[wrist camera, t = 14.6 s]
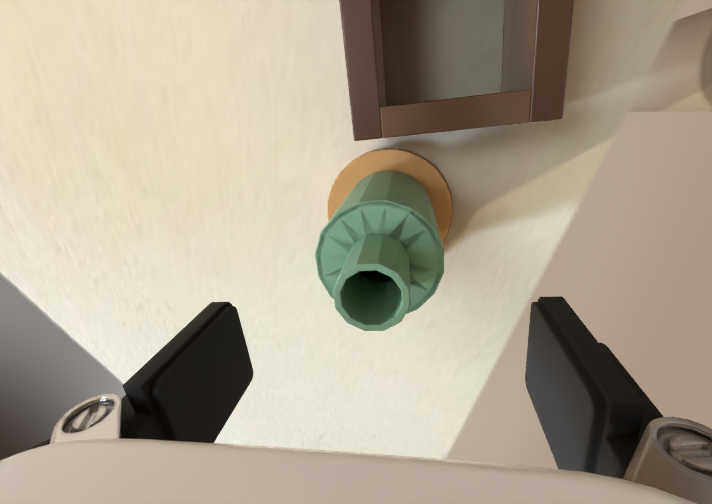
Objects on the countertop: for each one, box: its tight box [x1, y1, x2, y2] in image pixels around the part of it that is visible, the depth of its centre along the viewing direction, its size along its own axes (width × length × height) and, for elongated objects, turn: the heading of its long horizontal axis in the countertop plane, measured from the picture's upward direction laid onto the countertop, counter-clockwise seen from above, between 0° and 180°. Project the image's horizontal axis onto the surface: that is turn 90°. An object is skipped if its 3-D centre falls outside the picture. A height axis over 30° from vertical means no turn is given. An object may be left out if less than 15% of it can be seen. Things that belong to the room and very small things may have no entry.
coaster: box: [327, 148, 452, 242], centre depth 26 cm, size 9×9×1 cm
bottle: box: [315, 170, 444, 331], centre depth 19 cm, size 6×6×12 cm
